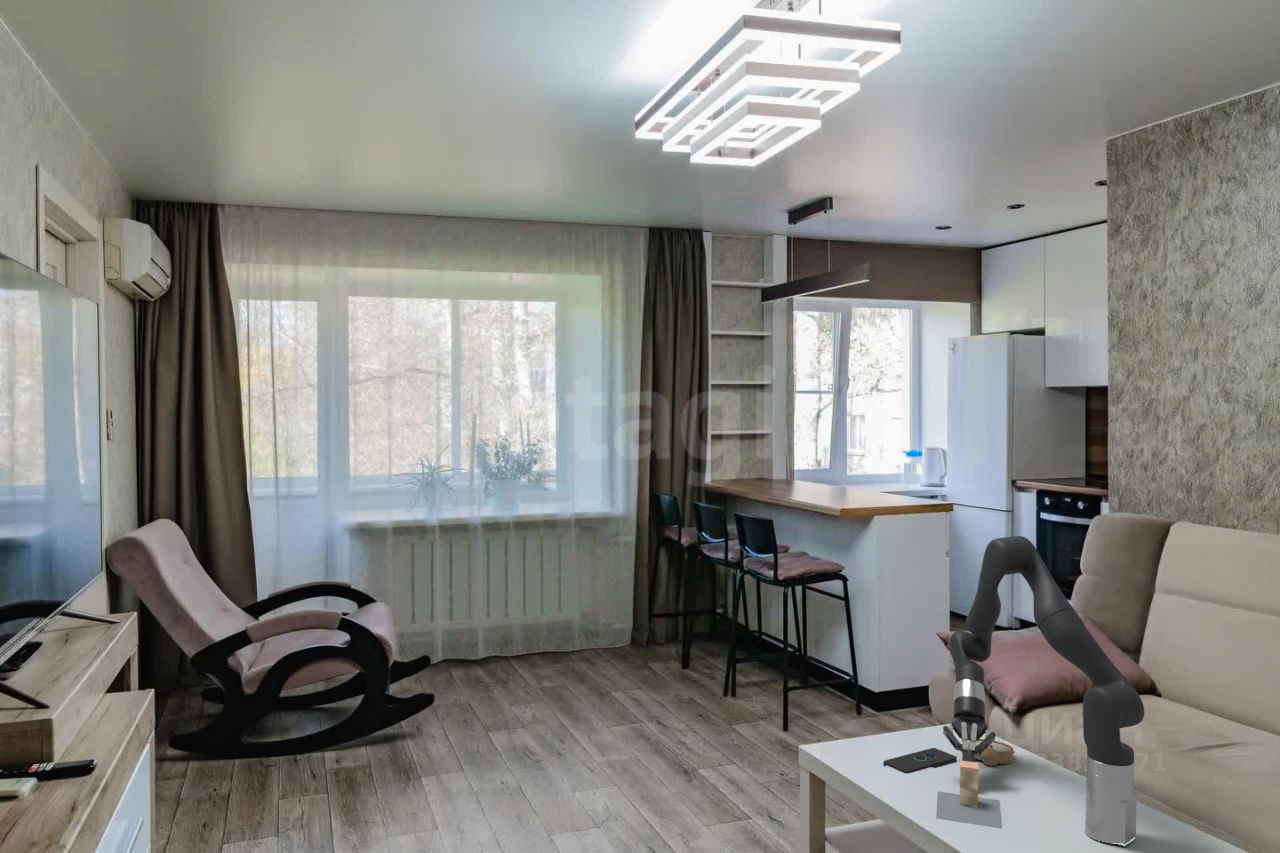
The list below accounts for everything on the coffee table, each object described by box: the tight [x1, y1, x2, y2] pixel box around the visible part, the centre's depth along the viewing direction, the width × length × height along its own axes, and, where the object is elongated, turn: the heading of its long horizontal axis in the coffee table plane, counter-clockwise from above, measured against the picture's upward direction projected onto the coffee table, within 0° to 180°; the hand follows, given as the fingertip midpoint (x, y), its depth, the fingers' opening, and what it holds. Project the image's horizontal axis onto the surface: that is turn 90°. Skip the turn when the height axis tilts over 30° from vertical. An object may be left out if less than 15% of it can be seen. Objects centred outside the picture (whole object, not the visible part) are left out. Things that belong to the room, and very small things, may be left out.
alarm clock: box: [967, 738, 1016, 767], centre depth 247 cm, size 11×5×15 cm
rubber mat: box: [935, 790, 1003, 829], centre depth 214 cm, size 14×16×1 cm
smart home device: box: [883, 747, 957, 774], centre depth 243 cm, size 8×2×20 cm
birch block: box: [959, 759, 980, 808], centre depth 217 cm, size 4×4×9 cm
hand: (968, 766), depth 224 cm, fingers closed
